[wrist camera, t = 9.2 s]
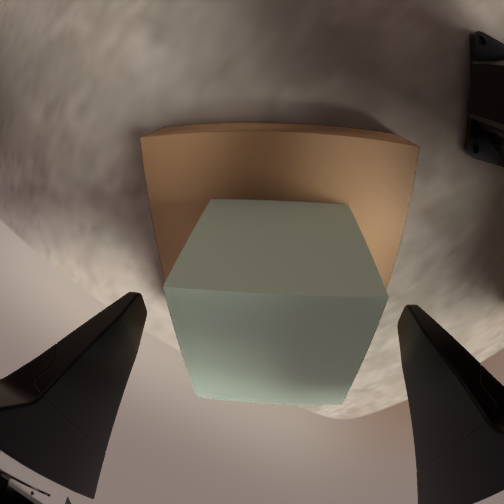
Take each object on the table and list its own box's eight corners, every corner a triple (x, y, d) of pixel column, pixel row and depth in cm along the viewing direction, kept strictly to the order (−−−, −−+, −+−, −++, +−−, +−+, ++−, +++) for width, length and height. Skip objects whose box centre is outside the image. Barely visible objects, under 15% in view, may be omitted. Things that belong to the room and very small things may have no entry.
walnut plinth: (395, 134, 10) (419, 147, 8) (359, 309, 16) (366, 341, 14) (165, 127, 11) (140, 137, 9) (190, 301, 17) (178, 332, 15)
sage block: (348, 204, 10) (388, 296, 6) (330, 306, 13) (341, 404, 8) (211, 199, 10) (162, 286, 6) (220, 301, 13) (196, 396, 9)
